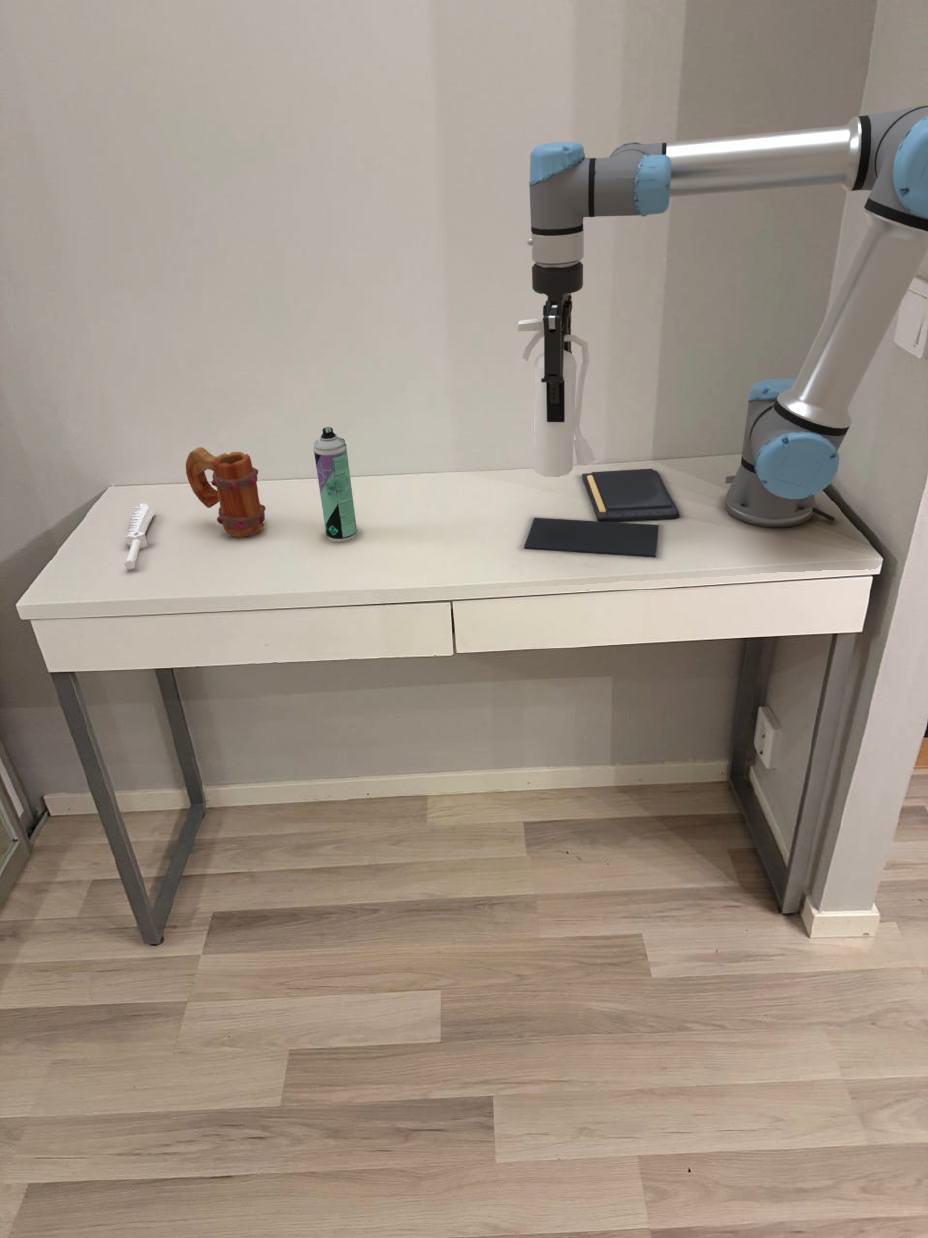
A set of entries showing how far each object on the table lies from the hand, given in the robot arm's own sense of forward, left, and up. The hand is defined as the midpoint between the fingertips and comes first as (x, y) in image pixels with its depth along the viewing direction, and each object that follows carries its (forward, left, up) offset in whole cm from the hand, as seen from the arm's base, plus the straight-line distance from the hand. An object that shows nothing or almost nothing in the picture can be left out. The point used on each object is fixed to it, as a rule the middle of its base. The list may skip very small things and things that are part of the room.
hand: (558, 412), depth 145 cm
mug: (+59, +5, -23) cm, 63 cm away
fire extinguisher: (0, 0, -10) cm, 10 cm away
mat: (-6, 0, -22) cm, 23 cm away
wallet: (-11, -17, -23) cm, 30 cm away
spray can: (+38, +5, -23) cm, 44 cm away
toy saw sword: (+74, +12, -23) cm, 79 cm away
